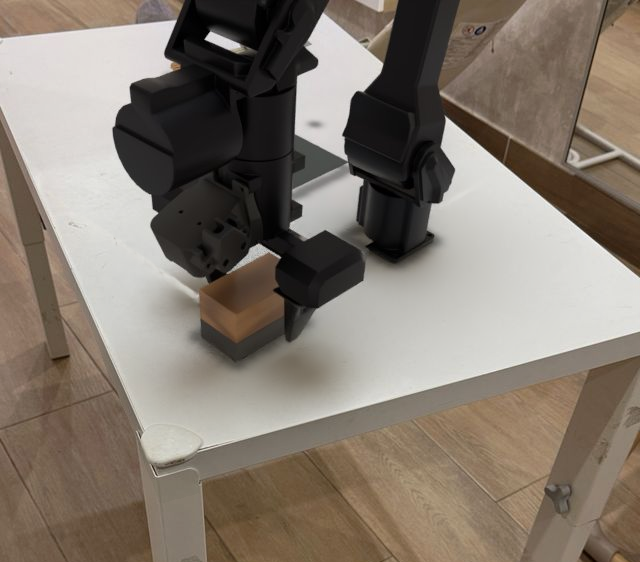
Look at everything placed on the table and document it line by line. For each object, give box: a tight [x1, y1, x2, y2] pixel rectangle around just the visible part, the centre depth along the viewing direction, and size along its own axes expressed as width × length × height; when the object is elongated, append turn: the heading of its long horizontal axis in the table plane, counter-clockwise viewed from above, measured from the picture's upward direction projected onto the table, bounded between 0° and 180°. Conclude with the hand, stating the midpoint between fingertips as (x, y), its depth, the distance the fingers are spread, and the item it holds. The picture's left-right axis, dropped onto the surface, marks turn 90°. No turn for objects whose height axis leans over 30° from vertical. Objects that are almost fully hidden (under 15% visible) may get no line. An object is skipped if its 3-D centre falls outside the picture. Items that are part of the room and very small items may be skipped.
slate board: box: [292, 133, 348, 191], centre depth 91 cm, size 18×12×1 cm, turn 47°
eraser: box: [198, 251, 285, 363], centre depth 69 cm, size 4×8×5 cm, turn 137°
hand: (253, 314), depth 70 cm, fingers open, 9 cm apart
